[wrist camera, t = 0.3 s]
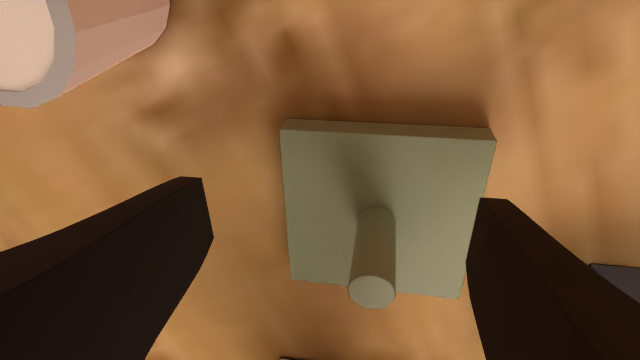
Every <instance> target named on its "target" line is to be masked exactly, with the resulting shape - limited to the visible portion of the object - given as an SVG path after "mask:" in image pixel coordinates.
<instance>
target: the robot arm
mask: <svg viewBox="0 0 640 360" xmlns="http://www.w3.org/2000/svg"><path fill="white" fill-rule="evenodd" d="M213 239H214V236H213V231H212V226H211V221H210V216H209V212H208V207H207V202H206V197H205V192H204V188H203V183H202V178H196V177H182V176H181V177H178V178H175V179H172V180H170V181H167V182H165V183H162V184H160V185H158V186H156V187H153V188H151V189H149V190H147V191H145V192H143V193H141V194H138V195H136V196H134V197H132V198H130V199H128V200H126V201H124V202H122V203H119V204H117V205H115V206H113V207H111V208H109V209H107V210H104V211H102V212H100V213H98V214H95V215H93V216H91V217H88V218H86V219H84V220H82V221H79V222H77V223H75V224H73V225H70V226H68V227H66V228H63V229H61V230H59V231H56V232H54V233H51V234H49V235H46V236H43V237H41V238H38V239H36V240H33V241H30V242H27V243H24V244H22V245H19V246H16V247H13V248H11V249H8V250H5V251H2V252H0V360H145V358H146V356H147V354H148V352H149V351H150V349H151V347H152V345H153V344H154V342H155V340H156V338H157V337H158V335H159V334H160V332H161V331H162V329H163V327H164V326H165V324H166V323H167V321H168V319H169V318H170V316H171V315H172V313H173V312H174V310H175V308H176V307H177V305H178V304H179V302H180V301H181V299H182V297H183V296H184V294H185V293H186V291H187V289H188V288H189V286H190V285H191V283H192V281H193V280H194V278H195V276H196V275H197V273H198V271H199V270H200V268H201V266H202V264H203V262H204V259H205V257H206V255H207V253H208V250H209V248H210V246H211V243H212V241H213ZM465 263H466V271H467V280H468V288H469V295H470V300H471V304H472V308H473V312H474V316H475V320H476V324H477V328H478V331H479V335H480V339H481V342H482V346H483V350H484V354H485V357H486V360H640V303H639V302H637V301H636V300H635V299H633V298H632V297H630V296H629V295H627V294H626V293H624V292H623V291H622V290H620V289H619V288H617V287H616V286H615V285H613V284H612V283H611V282H609V281H608V280H607V279H605V278H604V277H603V276H601V275H600V274H598V273H597V272H596V271H594V270H593V269H592V268H590V267H589V266H588V265H587V264H585V263H584V262H583V261H581V260H580V259H579V258H578V257H576V256H575V255H574V254H573V253H571V252H570V251H569V250H568V249H566V248H565V247H564V246H563V245H561V244H560V243H559V242H558V241H557V240H555V239H554V238H553V237H552V236H551V235H549V234H548V233H547V232H546V231H545V230H543V229H542V228H541V227H540V226H539V225H538V224H536V223H535V222H534V221H533V220H532V219H531V218H529V217H528V216H527V215H526V214H525V213H524V212H522V211H521V210H520V209H519V208H518V207H516V206H515V205H514V204H513V203H511V202H510V201H509V200H507V199H496V198H482V197H480V199H479V204H478V208H477V213H476V217H475V221H474V226H473V230H472V235H471V239H470V244H469V248H468V253H467V257H466V262H465ZM279 360H289V359H279Z"/></svg>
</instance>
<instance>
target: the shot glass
mask: <svg viewBox="0 0 640 360" xmlns="http://www.w3.org/2000/svg"><path fill="white" fill-rule="evenodd" d="M169 9H170V1H169V0H0V106H10V107H22V108H35V107H37V106H39V105H41V104H44V103H46V102H48V101H51V100H53V99H55V98H57V97H59V96H61V95H63V94H65V93H67V92H68V91H70V90H72V89H74V88H76V87H77V86H79V85H81V84H83V83H85V82H86V81H88V80H90V79H92V78H94V77H95V76H97V75H99V74H101V73H103V72H104V71H106V70H108V69H110V68H112V67H113V66H115V65H117V64H119V63H121V62H122V61H124V60H126V59H128V58H130V57H131V56H133V55H135V54H137V53H139V52H140V51H142V50H144V49H146V48H148V47H149V46H151V45H153V44H155V42H156V41H157V39H158V38H159V37H160V35H161V34H162V33H163V31H164V30H165V28H166V25H167V19H168V14H169Z"/></svg>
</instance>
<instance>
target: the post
mask: <svg viewBox="0 0 640 360" xmlns="http://www.w3.org/2000/svg"><path fill="white" fill-rule="evenodd" d="M279 136H280V149H281V162H282V174H283V187H284V200H285V212H286V225H287V238H288V251H289V263H290V276H291V280H299V281H307V282H316V283H324V284H333V285H341V286H348V294H349V296H350V298H351V299H352V300H353V301H354V302H355V303H356V304H358V305H360V306H362V307H364V308H368V309H380V308H384V307H386V306H388V305H390V304H391V303H392V302H393V300H394V299H395V296H396V292H401V293H410V294H418V295H427V296H435V297H444V298H452V299H459V298H460V293H461V289H462V285H463V281H464V277H465V273H466V263H465V262H466V257H467V253H468V248H469V244H470V239H471V235H472V230H473V226H474V221H475V217H476V213H477V208H478V204H479V199H480V197H482V198H483V197H484V193H485V189H486V185H487V181H488V176H489V172H490V168H491V164H492V160H493V156H494V151H495V147H496V143H497V140H496V138H495V136H494V134H493V133H492V131H491V129H490V128H478V127H457V126H435V125H414V124H393V123H371V122H350V121H329V120H308V119H286V120H285V122H284V123H283V124H282V126H281V127H280V129H279Z"/></svg>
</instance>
